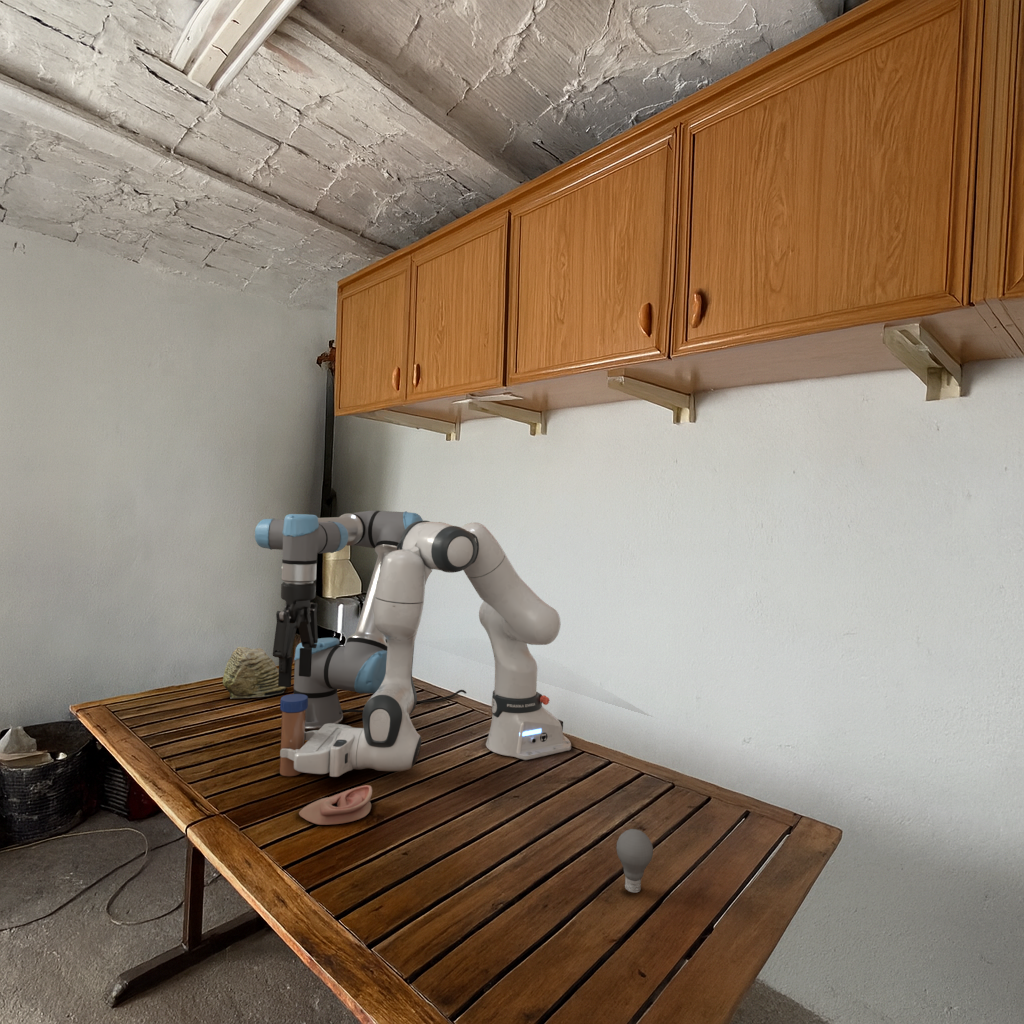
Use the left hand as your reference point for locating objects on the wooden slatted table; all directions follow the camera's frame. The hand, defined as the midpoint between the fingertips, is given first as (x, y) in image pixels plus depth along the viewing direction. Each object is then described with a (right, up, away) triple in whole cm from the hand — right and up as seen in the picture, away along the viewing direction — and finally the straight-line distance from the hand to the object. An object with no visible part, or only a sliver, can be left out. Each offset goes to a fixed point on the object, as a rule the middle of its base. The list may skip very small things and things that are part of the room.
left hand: (295, 680), depth 145 cm
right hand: (-1, -15, 0) cm, 15 cm away
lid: (0, -4, 0) cm, 4 cm away
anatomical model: (+14, -22, -17) cm, 31 cm away
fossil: (-31, -19, +53) cm, 64 cm away
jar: (-1, -21, 0) cm, 21 cm away
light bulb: (+70, -25, -39) cm, 84 cm away
